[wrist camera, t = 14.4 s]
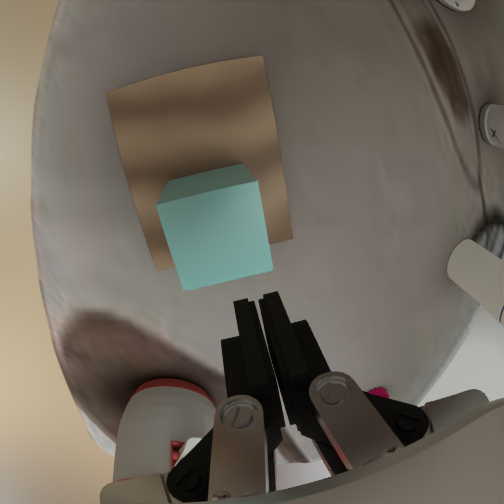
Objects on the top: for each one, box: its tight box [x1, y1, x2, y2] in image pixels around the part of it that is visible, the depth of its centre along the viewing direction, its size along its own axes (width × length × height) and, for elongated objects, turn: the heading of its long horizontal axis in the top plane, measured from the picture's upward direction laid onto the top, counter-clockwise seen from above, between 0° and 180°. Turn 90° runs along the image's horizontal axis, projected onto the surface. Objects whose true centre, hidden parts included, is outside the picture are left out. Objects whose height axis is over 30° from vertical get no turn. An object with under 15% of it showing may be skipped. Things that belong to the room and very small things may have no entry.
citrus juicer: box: [113, 378, 216, 482], centre depth 31 cm, size 16×17×20 cm
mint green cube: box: [156, 163, 273, 291], centre depth 24 cm, size 7×7×8 cm
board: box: [106, 55, 293, 271], centre depth 26 cm, size 18×14×2 cm
